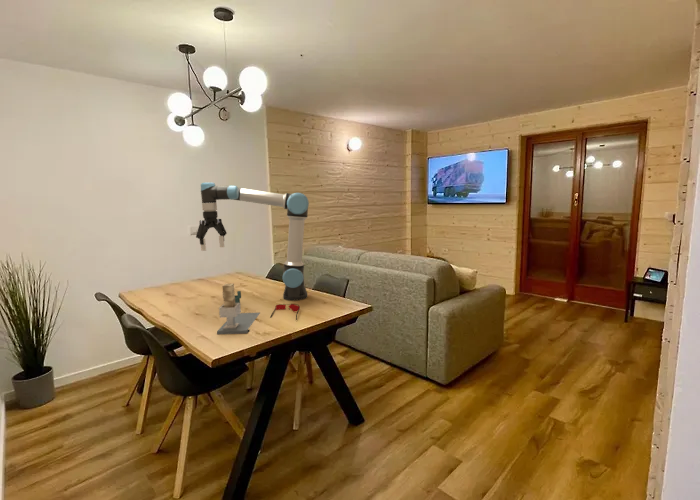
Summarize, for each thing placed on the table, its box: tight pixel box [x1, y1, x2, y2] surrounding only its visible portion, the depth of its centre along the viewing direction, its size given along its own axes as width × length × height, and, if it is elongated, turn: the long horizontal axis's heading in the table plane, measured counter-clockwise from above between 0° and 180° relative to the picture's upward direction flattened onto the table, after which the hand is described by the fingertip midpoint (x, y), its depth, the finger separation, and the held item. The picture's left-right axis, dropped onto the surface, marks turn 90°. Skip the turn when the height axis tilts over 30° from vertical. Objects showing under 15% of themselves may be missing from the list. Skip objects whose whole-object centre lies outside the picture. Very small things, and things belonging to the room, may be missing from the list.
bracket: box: [235, 290, 242, 304], centre depth 211 cm, size 9×9×9 cm
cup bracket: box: [218, 302, 242, 329], centre depth 170 cm, size 8×8×11 cm
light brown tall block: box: [221, 283, 236, 307], centre depth 169 cm, size 4×4×14 cm
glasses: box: [270, 303, 301, 321], centre depth 189 cm, size 14×16×5 cm
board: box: [216, 312, 261, 335], centre depth 179 cm, size 14×26×2 cm, turn 1°
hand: (213, 248), depth 201 cm, fingers open, 13 cm apart
